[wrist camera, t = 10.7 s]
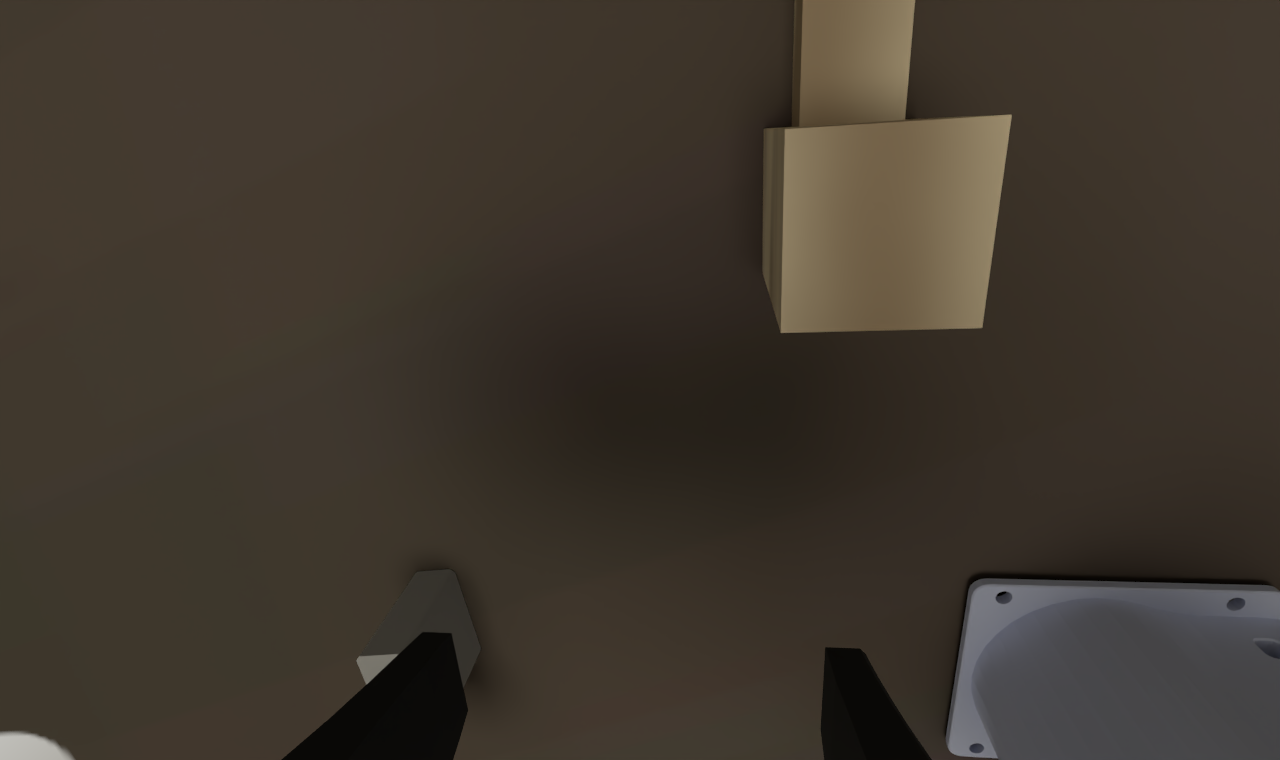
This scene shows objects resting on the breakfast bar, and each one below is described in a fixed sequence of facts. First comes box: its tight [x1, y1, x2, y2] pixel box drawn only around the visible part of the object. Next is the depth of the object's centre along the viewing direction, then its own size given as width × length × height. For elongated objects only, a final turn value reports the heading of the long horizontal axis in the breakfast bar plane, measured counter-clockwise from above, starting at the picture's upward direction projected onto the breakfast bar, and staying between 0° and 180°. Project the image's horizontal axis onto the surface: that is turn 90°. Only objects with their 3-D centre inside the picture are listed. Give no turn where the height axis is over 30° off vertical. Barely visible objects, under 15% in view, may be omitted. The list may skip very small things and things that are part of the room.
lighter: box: [356, 569, 481, 688], centre depth 22 cm, size 7×2×8 cm, turn 10°
